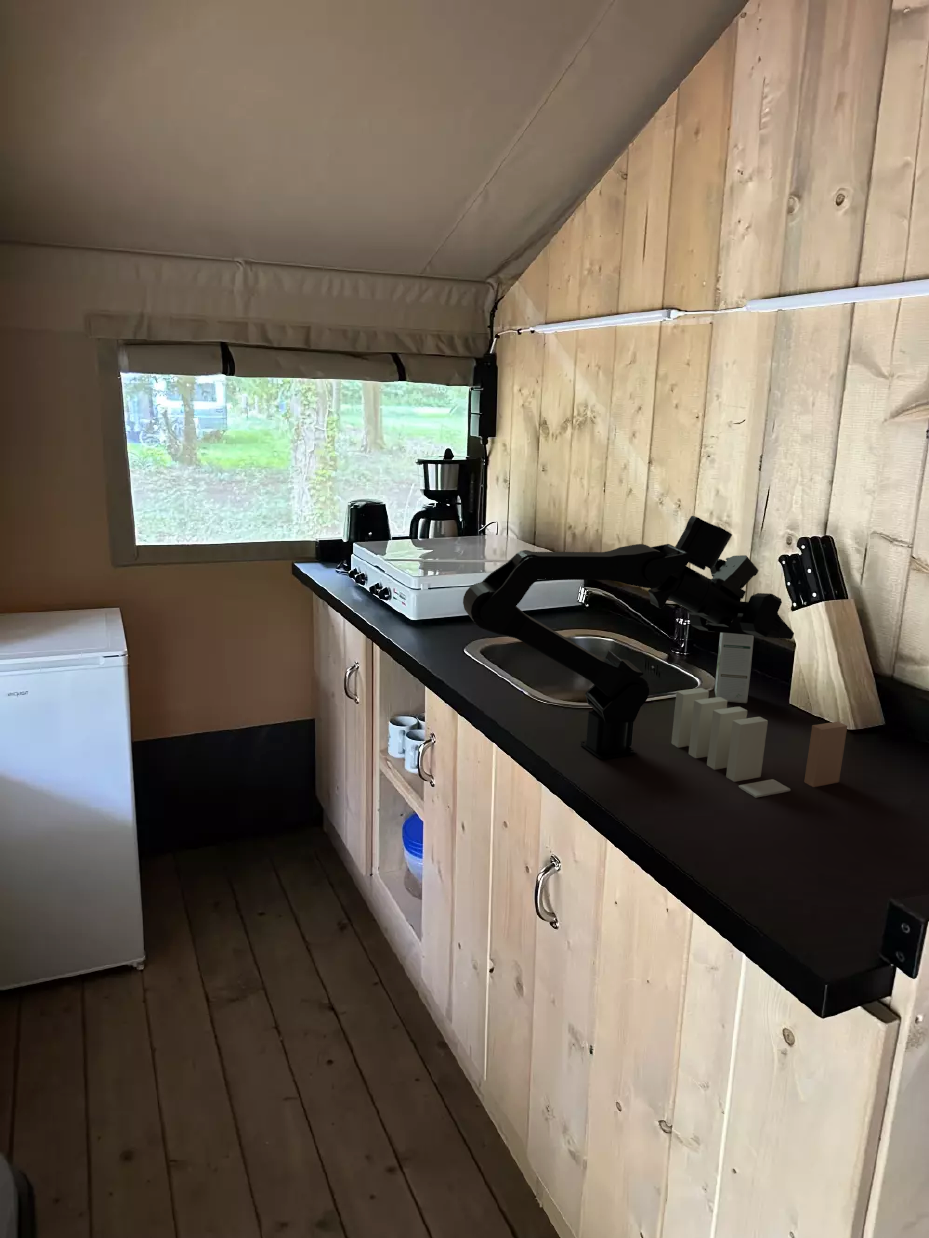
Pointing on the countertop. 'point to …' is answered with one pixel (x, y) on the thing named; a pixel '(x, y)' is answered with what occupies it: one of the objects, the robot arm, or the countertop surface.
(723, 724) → the domino
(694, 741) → the domino
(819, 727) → the domino
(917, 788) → the countertop surface
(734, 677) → the syrup box
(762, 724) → the domino
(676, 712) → the domino
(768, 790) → the plate
